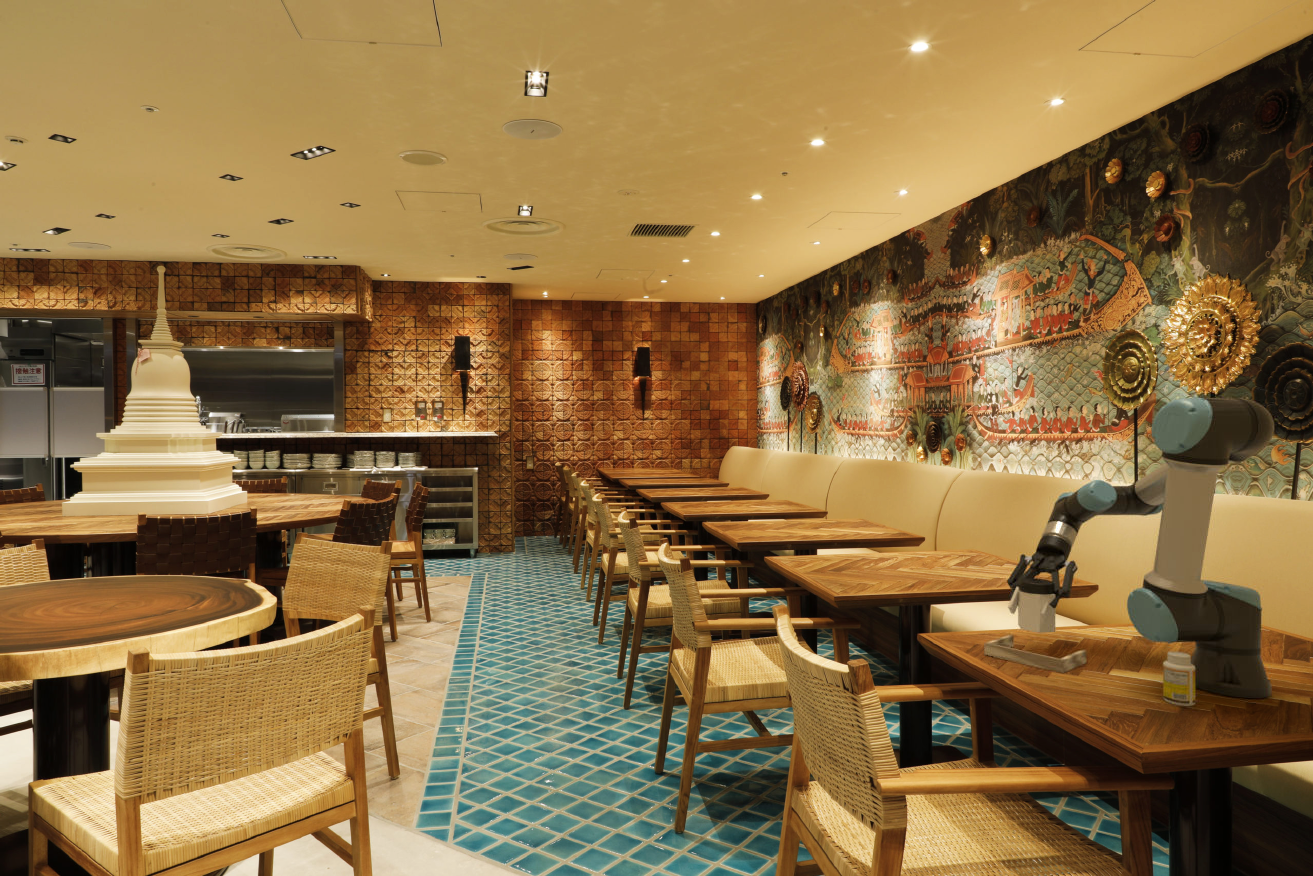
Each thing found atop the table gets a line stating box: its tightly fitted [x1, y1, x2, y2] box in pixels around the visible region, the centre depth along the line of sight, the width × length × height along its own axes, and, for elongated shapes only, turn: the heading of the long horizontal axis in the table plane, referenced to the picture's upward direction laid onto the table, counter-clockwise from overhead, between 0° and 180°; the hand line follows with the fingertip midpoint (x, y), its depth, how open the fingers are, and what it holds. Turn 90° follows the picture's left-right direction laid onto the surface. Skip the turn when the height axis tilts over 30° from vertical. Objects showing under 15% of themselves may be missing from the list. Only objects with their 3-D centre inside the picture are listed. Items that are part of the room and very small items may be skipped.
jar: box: [1017, 577, 1056, 634], centre depth 187 cm, size 9×8×12 cm
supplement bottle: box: [1162, 650, 1197, 707], centre depth 156 cm, size 6×6×10 cm
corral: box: [983, 634, 1087, 674], centre depth 187 cm, size 14×19×3 cm
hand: (1027, 613), depth 185 cm, fingers closed on jar, 7 cm apart
